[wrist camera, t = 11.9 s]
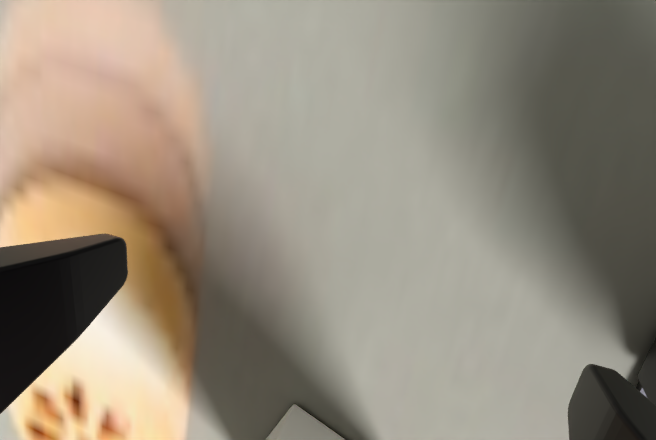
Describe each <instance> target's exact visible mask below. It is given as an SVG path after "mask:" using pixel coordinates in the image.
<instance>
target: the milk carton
mask: <svg viewBox="0 0 656 440" xmlns="http://www.w3.org/2000/svg"><path fill="white" fill-rule="evenodd" d="M266 440H345V439H344V438H342V437H341V436H339V435H338V434H337V433H335V432H334V431H332V430H331V429H330V428H328V427H327V426H325V425H324V424H323V423H321V422H320V421H318V420H317V419H315V418H314V417H313V416H311V415H310V414H308V413H307V412H305V411H304V410H303V409H301V408H300V407H298V406H297V405H295V404H294V405H293V406H292V407H291V408H290V409H289V410H288V411H287V413H286V414H285V415H284V417H283V418H282V419H281V420H280V422H279V423H278V424H277V425H276V427H275V428H274V429H273V431H272V432H271V433H270V434H269V436H268V437H267V438H266Z"/></svg>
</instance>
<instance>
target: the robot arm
mask: <svg viewBox="0 0 656 440" xmlns="http://www.w3.org/2000/svg"><path fill="white" fill-rule="evenodd" d="M127 274H128V270H127V248H126V243H125V241H124V240H123V239H122V238H120V237H117V236H113V235H110V234H98V235H90V236H83V237H75V238H68V239H60V240H53V241H45V242H38V243H31V244H23V245H16V246H8V247H1V248H0V414H1V413H2V412H3V411H4V410H5V409H6V408H7V407H8V406H9V405H10V404H11V403H12V402H13V401H14V400H15V399H16V398H17V397H18V396H19V395H20V394H21V393H22V392H23V391H24V390H25V389H26V388H27V387H29V386H30V385H31V384H32V383H33V382H34V381H35V380H36V379H37V378H38V377H39V376H40V375H41V374H42V373H43V372H44V371H45V370H46V369H47V368H48V367H49V366H50V365H51V364H52V363H53V362H54V361H55V360H56V359H57V358H58V357H59V356H60V355H61V354H62V353H63V352H64V351H66V350H67V349H68V348H69V347H70V346H71V345H72V344H73V343H74V341H75V340H76V339H77V338H78V337H79V336H80V335H81V334H82V333H83V332H84V331H85V329H86V328H87V327H88V326H89V325H90V324H91V322H92V321H93V320H94V319H95V318H96V317H97V315H98V314H99V313H100V312H101V311H102V309H103V308H104V307H105V306H106V305H107V304H108V302H109V301H110V300H111V299H112V298H113V297H114V295H115V294H116V293H117V292H118V291H119V289H120V288H121V287H122V286H123V285H124V283H125V281H126V278H127ZM638 379H639V383H638V385H637V387H636V388H635V387H634V386H633V385H632V384H631V383H629V382H628V381H627V380H626V379H625V378H624V377H622V376H621V375H620V374H619V373H618V372H616V371H615V370H612V369H609V368H605V367H602V366H598V365H594V364H589V365H587V366H586V367H585V368H584V369H583V371H582V374H581V376H580V378H579V381H578V383H577V385H576V388H575V390H574V393H573V395H572V397H571V400H570V403H569V407H568V425H569V440H656V339H655V341H654V343H653V345H652V347H651V349H650V351H649V353H648V355H647V357H646V359H645V361H644V363H643V365H642V367H641V369H640V372H639V374H638Z"/></svg>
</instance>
